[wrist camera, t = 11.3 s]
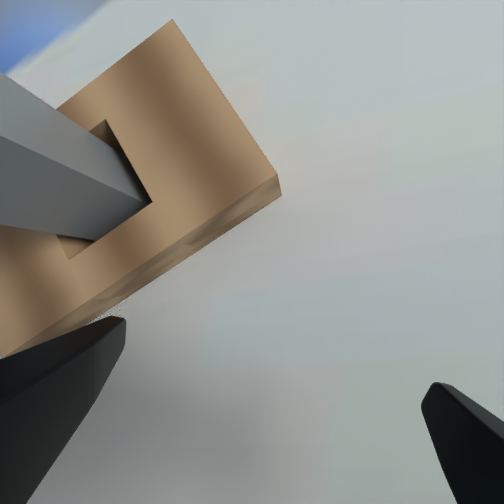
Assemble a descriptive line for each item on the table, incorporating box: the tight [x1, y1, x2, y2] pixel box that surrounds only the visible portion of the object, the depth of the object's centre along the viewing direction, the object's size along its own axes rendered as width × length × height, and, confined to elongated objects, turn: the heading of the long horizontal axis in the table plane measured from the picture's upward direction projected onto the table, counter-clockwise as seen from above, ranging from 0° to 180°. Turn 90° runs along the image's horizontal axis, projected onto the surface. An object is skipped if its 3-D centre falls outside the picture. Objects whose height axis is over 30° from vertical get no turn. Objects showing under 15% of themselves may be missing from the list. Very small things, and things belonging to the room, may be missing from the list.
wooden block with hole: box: [0, 19, 282, 358], centre depth 18 cm, size 20×12×4 cm, turn 122°
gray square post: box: [0, 72, 153, 241], centre depth 13 cm, size 4×4×13 cm
